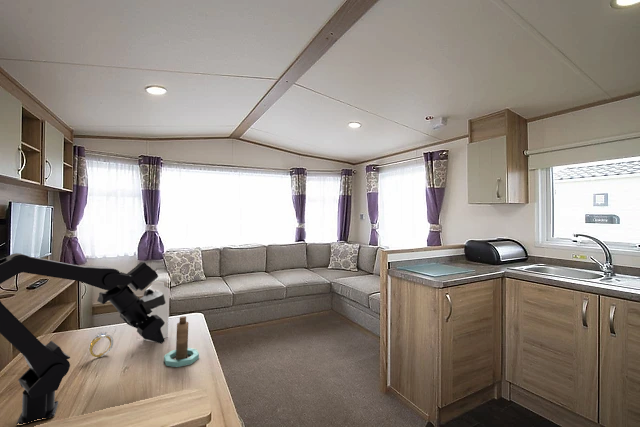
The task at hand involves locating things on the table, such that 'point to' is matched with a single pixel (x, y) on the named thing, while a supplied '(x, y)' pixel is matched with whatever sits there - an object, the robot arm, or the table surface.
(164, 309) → the milk
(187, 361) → the teal faceted ring
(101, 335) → the ring
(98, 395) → the table surface
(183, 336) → the brown peg
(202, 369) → the table surface
